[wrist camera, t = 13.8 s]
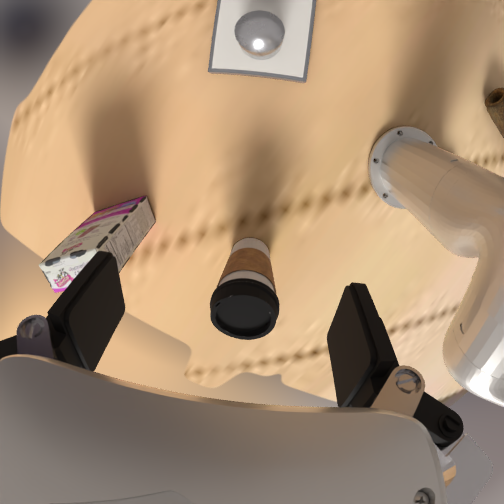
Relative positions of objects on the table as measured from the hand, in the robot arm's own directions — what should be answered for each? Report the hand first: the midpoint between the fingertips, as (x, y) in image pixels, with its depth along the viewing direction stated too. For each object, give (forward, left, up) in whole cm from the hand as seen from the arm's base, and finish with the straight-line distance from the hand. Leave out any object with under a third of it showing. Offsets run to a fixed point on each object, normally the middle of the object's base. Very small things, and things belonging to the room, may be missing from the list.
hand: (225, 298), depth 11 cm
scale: (+1, -22, -30) cm, 37 cm away
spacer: (+1, -15, -27) cm, 31 cm away
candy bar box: (+20, +12, -31) cm, 38 cm away
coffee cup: (-1, +16, -31) cm, 34 cm away
